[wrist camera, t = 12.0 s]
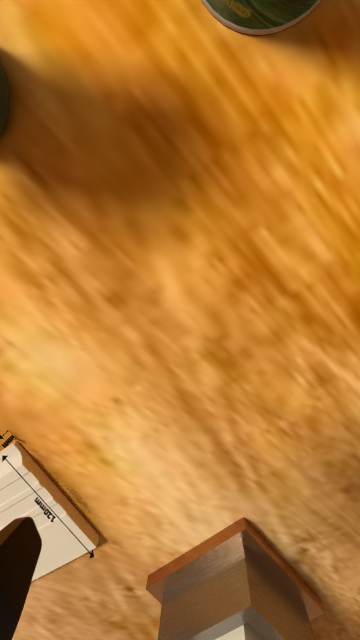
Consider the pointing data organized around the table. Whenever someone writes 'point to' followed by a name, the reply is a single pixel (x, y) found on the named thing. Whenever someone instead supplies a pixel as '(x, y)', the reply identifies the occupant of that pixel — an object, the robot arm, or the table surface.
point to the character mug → (3, 97)
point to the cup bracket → (233, 590)
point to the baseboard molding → (42, 510)
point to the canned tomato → (259, 14)
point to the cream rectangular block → (243, 634)
